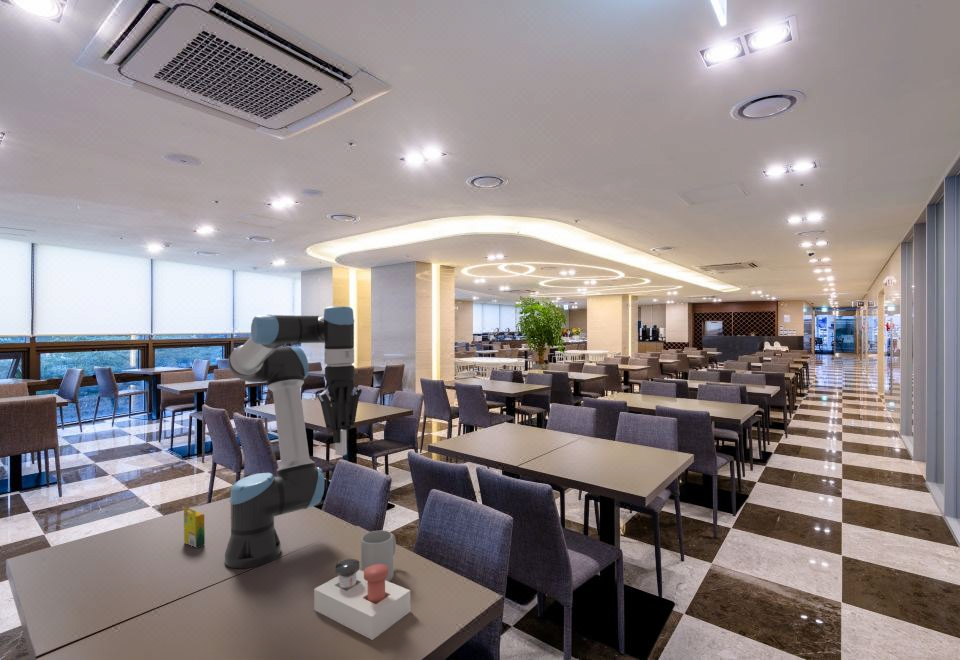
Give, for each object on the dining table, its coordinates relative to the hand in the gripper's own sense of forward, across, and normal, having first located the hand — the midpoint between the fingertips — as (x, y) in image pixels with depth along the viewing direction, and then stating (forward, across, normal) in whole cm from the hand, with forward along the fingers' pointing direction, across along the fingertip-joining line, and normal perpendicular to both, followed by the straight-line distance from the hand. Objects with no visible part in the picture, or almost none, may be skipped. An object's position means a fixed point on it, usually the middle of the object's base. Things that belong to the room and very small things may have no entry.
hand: (341, 454), depth 121 cm
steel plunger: (+34, -5, -8) cm, 35 cm away
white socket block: (+34, -5, -13) cm, 37 cm away
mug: (+35, +9, -5) cm, 36 cm away
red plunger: (+33, -5, -18) cm, 38 cm away
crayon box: (+35, -10, +60) cm, 70 cm away
